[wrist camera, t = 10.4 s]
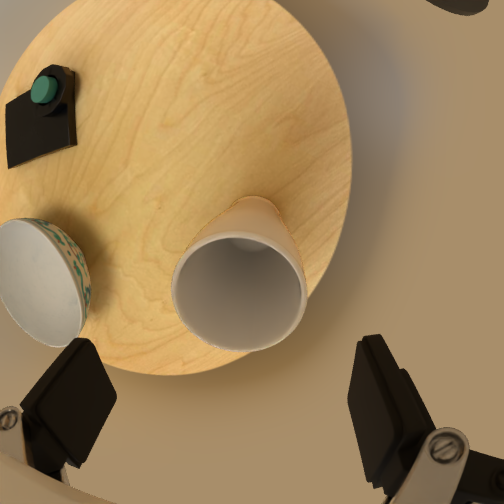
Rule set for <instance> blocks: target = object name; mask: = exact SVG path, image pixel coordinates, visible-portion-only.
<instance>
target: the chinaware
mask: <svg viewBox="0 0 504 504" xmlns="http://www.w3.org/2000/svg"><path fill="white" fill-rule="evenodd" d="M0 297H1V300H2V302H3V303H4V305H5V307H6V309H7V310H8V312H9V313H10V315H11V316H12V318H13V319H14V320H15V321H16V323H17V324H18V325H19V326H20V327H21V328H22V329H23V330H24V331H25V332H26V333H27V334H29V335H30V336H31V337H33V338H34V339H36V340H37V341H39V342H41V343H43V344H45V345H48V346H52V347H65V346H68V345H69V343H70V342H71V341H72V340H73V339H74V338H76V337H78V336H79V334H80V332H81V330H82V328H83V326H84V324H85V321H86V318H87V315H88V312H89V307H90V301H91V282H90V275H89V271H88V267H87V264H86V260H85V257H84V255H83V253H82V251H81V249H80V248H79V247H78V245H77V244H76V243H75V242H74V241H73V240H72V239H71V238H70V237H69V236H68V235H67V234H66V233H65V232H64V231H63V230H61V229H60V228H58V227H57V226H55V225H53V224H51V223H49V222H46V221H43V220H39V219H33V218H19V219H12V220H9V221H7V222H5V223H4V224H2V225H1V226H0Z"/></svg>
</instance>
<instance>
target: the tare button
mask: <svg viewBox="0 0 504 504" xmlns="http://www.w3.org/2000/svg"><path fill="white" fill-rule="evenodd" d="M57 87H58V84H57V80H56V79H55V78H53V77H48V76H41V77H39V78H38V79H37V80H36V81H35V82H34V84H33V86H32V89H31V99H32V101H33V102H35V103H48V102H50V101H51V100H52V99H53V98H54V96H55V94H56V91H57Z"/></svg>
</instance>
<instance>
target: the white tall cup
mask: <svg viewBox="0 0 504 504" xmlns="http://www.w3.org/2000/svg"><path fill="white" fill-rule="evenodd" d="M171 295H172V300H173V304H174V307H175V310H176V312H177V314H178V316H179V318H180V319H181V321H182V322H183V324H184V325H185V326H186V327H187V329H188V330H189V331H190V332H191V333H193V334H194V335H195V336H196V337H198V338H199V339H200V340H202V341H204V342H205V343H207V344H209V345H211V346H214V347H216V348H219V349H223V350H227V351H233V352H252V351H258V350H262V349H265V348H268V347H271V346H273V345H275V344H277V343H279V342H280V341H282V340H283V339H285V338H286V337H287V336H288V335H290V333H292V331H293V330H294V329H295V328H296V326H297V325H298V324H299V322H300V320H301V319H302V317H303V314H304V312H305V308H306V304H307V284H306V278H305V272H304V267H303V262H302V259H301V256H300V253H299V250H298V247H297V245H296V243H295V241H294V239H293V237H292V235H291V233H290V232H289V230H288V228H287V227H286V225H285V224H284V222H283V220H282V219H281V216H280V213H279V211H278V209H277V208H276V206H275V205H274V204H273V203H272V202H270V201H269V200H267V199H265V198H263V197H259V196H246V197H243V198H240V199H238V200H237V201H235V202H234V203H233V204H232V205H231V206H230V207H229V208H228V209H227V210H225V211H224V212H222V213H221V214H219V215H218V216H217V217H215V218H214V219H213V220H211V221H210V222H209V223H208V224H206V225H205V226H204V227H203V228H202V229H201V230H200V231H199V232H198V234H197V235H196V236H195V237H194V238H193V240H192V241H191V242H190V244H189V245H188V247H187V248H186V250H185V251H184V253H183V255H182V256H181V258H180V259H179V261H178V263H177V265H176V267H175V270H174V272H173V276H172V282H171Z"/></svg>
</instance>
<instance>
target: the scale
mask: <svg viewBox="0 0 504 504" xmlns="http://www.w3.org/2000/svg"><path fill="white" fill-rule="evenodd" d="M41 76H48V77H53V78H55V79H56V80H57V84H58V87H57V91H56V94H55V96H54V98H53V99H52V100H51V101H50V102H48V103H35V102H33V101H32V99H31V89H32V88H31V89H30V90H29V91H27V92H25V93H24V94H22V95H20V96H19V97H17V98H15V99H14V100H12V101H11V102H9V103H7V104H6V112H5V124H6V150H7V163H8V169H11V168H15V167H18V166H20V165H22V164H25V163H27V162H30V161H32V160H35V159H38V158H40V157H43V156H46V155H48V154H51V153H54V152H57V151H60V150H63V149H66V148H69V147H72V146H75V145H77V139H76V124H75V72H73V71H70V69H69V68H67V67H63V66H59V65H54V64H52V65H50V66H48V67H46V68H45V69H43V70H42V71H41V72H40V73H39V75H38V76H37V77H36V79H35V80H34V82H35V81H36V80H37V79H38V78H39V77H41ZM34 82H33V84H34ZM32 86H33V85H32Z"/></svg>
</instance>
